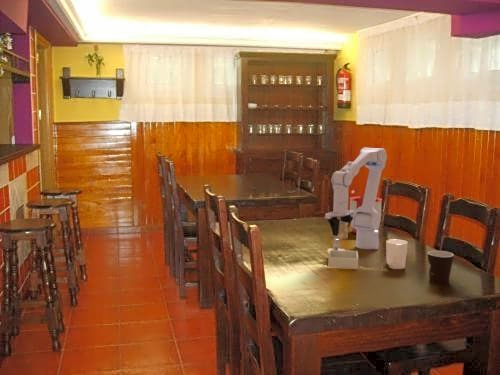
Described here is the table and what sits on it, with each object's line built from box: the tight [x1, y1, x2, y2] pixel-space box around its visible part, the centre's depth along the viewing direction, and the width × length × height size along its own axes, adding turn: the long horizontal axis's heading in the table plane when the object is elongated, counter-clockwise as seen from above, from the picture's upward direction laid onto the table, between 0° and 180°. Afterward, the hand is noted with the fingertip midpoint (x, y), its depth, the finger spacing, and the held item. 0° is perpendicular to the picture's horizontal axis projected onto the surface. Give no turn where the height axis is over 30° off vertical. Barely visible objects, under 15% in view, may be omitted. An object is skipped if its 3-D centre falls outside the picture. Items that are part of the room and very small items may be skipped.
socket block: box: [331, 220, 349, 241], centre depth 215 cm, size 5×5×6 cm
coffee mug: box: [427, 250, 455, 285], centre depth 189 cm, size 12×9×10 cm
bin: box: [327, 250, 359, 270], centre depth 209 cm, size 11×11×4 cm
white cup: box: [385, 238, 409, 270], centre depth 205 cm, size 8×8×10 cm
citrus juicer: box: [349, 192, 383, 234], centre depth 260 cm, size 16×17×20 cm
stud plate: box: [327, 238, 346, 254], centre depth 224 cm, size 7×7×6 cm
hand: (339, 234), depth 215 cm, fingers closed on socket block, 5 cm apart
